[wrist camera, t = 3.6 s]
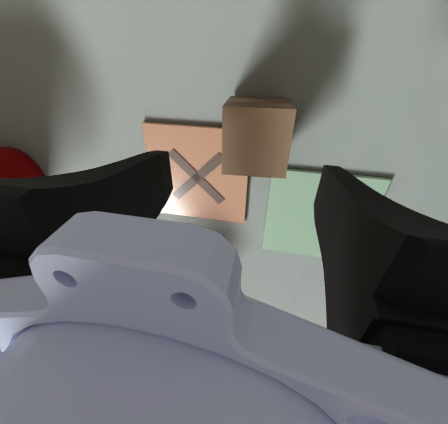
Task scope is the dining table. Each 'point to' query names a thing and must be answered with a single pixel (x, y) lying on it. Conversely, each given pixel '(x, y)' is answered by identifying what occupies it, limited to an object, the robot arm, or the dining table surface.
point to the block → (257, 136)
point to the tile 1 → (198, 172)
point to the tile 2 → (299, 211)
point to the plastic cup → (17, 165)
